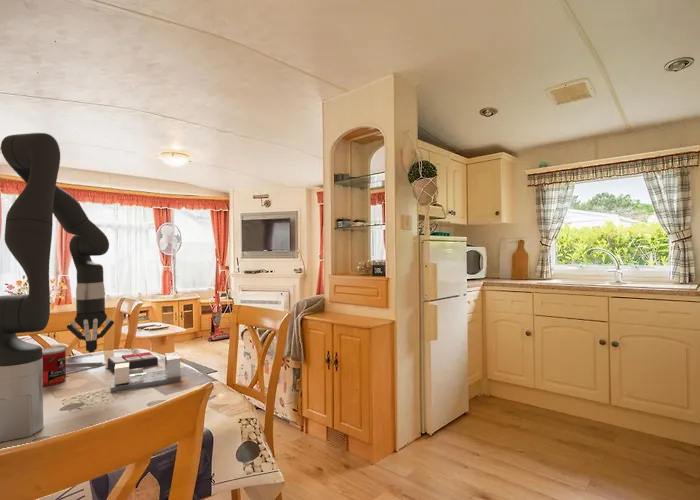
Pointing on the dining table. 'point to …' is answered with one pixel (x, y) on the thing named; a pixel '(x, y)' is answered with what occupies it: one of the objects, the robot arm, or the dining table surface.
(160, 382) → the gauge base
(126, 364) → the block
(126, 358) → the calculator
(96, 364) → the caliper
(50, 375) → the canned food
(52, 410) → the dining table surface
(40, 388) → the robot arm
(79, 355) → the dining table surface
